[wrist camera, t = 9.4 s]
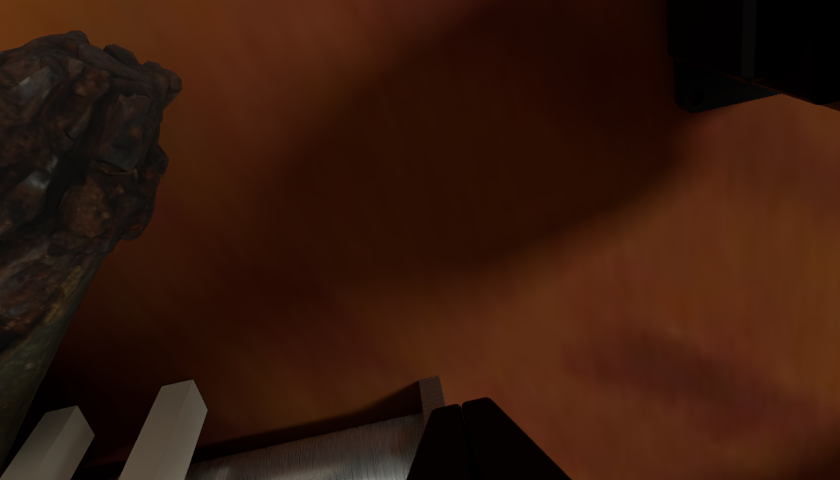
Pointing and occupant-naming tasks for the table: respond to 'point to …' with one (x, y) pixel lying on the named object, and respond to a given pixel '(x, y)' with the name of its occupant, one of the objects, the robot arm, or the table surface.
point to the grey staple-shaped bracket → (150, 457)
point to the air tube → (333, 451)
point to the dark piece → (67, 190)
